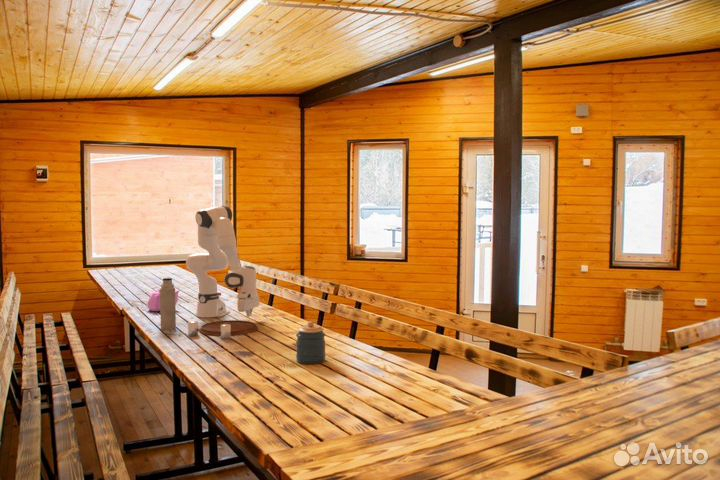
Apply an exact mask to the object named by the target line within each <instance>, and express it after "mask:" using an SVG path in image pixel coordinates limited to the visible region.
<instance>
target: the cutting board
mask: <svg viewBox="0 0 720 480" xmlns="http://www.w3.org/2000/svg"><path fill="white" fill-rule="evenodd" d="M222 324H230V325H231V337H235V336H236V335H237V336H243V335H248V333H249V334H252V333H255V332H257V331H258V330H257V329H259V327H258V325H257V324H256V323H255V322H253V321H249V320H239V319H237V320H233V319H232V320H219V321H218V320H217V321H211V322H208V323H205V324H202V325H200V328H198V334H201V335H204V336H210V337H221V325H222ZM256 330H257V331H256Z"/></svg>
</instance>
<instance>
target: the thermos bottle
mask: <svg viewBox="0 0 720 480" xmlns="http://www.w3.org/2000/svg"><path fill="white" fill-rule="evenodd" d="M160 286H161V288H159V289H160V311H159V312H160V329H161V330H174V329H175V328H176V326H177V325H176V324H177V323H176V321H177V319H176V316H177V313H176V304H175V292H176V288H175V284H174V283H173V278H171V277H166V278H164V277H163V278H162V284H161V285H160Z"/></svg>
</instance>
